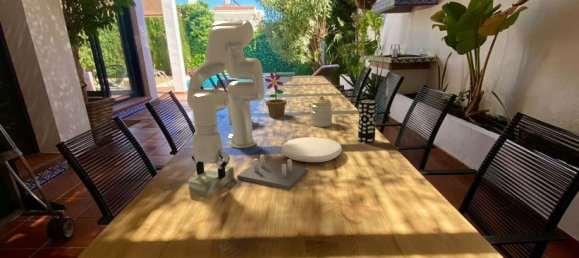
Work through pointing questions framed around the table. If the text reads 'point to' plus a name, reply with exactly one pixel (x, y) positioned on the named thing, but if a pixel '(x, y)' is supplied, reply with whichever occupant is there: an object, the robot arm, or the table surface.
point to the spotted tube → (367, 121)
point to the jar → (321, 112)
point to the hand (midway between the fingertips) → (211, 175)
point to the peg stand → (273, 173)
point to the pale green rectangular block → (209, 181)
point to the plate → (311, 149)
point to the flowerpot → (275, 105)
